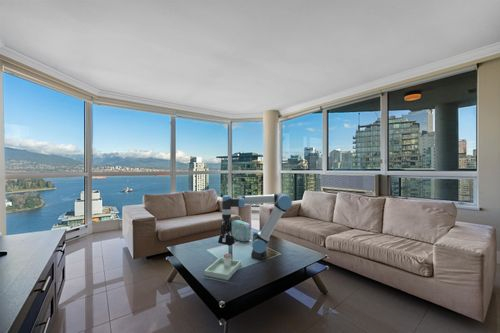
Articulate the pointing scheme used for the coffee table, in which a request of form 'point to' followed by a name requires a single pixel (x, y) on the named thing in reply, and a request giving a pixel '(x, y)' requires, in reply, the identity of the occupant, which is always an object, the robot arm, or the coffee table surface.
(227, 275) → the tote
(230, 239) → the sculpture
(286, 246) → the coffee table surface
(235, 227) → the lunch box
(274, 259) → the coffee table surface
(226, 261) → the jar
